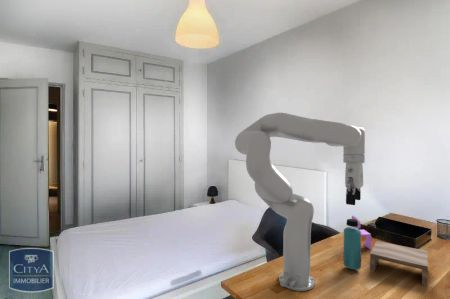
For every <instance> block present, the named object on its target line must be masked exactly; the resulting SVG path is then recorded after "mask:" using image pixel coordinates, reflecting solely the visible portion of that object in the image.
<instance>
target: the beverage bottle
mask: <svg viewBox="0 0 450 299" xmlns="http://www.w3.org/2000/svg"><path fill="white" fill-rule="evenodd" d="M357 226H358V221H357V220H355V219H352V218H347V220H346V227H345V228H344V229H343V255H342V258H343V266H344V267H346V268H348V269H351V270H359V269H361V268H362V242H361V240H362V236H361V231H360V230H361V229H360V228H359V229H358V228H355V227H357Z"/></svg>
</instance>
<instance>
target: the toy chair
mask: <svg viewBox="0 0 450 299" xmlns="http://www.w3.org/2000/svg"><path fill="white" fill-rule="evenodd" d="M351 219H355V220H357V221H358V226H357V227H355V228H358V229H359V230H360V231H361V237H365V241H364V244H363V245H364V246H365V247H366V248H367V249H369V250H371V251H372V240H373V238H372V234H371V233H370V232H368V231H367V230H365V229H361V228H362V226H361V221H360V220H359V219H358V217H356V216H355V215H352V216H351Z"/></svg>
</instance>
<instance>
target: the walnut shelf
mask: <svg viewBox="0 0 450 299" xmlns="http://www.w3.org/2000/svg"><path fill="white" fill-rule="evenodd" d="M428 253H429V251H428V250H424V249H419V248H414V247H408V246H403V245H398V244H395V243H394V244H393V243H390V242H389V243H388V242H384V241H379V240H376V241H375V243H374V245H373V247H372V248H371V251H370V253H369V254H370V255H369V256H370V257H369V271H370V272H374V273H375V271H376V269H377V266H378V264H379V261H380V260H381V261H385V262H389V263H392V264H398V265H402V266H406V267H411V268H413V269H414V268H415V269H419V270H421V272H422V273H421V284H422V286H425V287H428V277H429V276H428V273H429V272H428V271H429V270H428V269H429V267H428V266H429V264H428V262H429V259H428V258H429V254H428Z"/></svg>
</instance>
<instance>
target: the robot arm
mask: <svg viewBox="0 0 450 299" xmlns="http://www.w3.org/2000/svg"><path fill="white" fill-rule="evenodd" d="M365 136H366V130H365V129H364V127H363V126H362V127H360V126H358V127H357V126H355V125H351V124H346V123H342V122H336V121H328V120H322V119H314V118H309V117H305V116H304V117H303V116H299V115H295V114H292V113H291V114H290V113H286V112H274V113H269V114H266V115H263V116H262V117H260V118H259V119H257V120H256V121H254V122H253V123H252V124H250V125H249V126H247V127H246V128H245V129H243V130H242V131H240V132H239V133H238V134H237V136H236V137H235V140H234V145H235V149H236V150H237V152H239V153H240V154H242V155H244V156H245V155H246V156H245V157H246V158H245V165H246V166H245V167H246V171H247V174H248V175H249V177H250V179H252V181H253V182H254V190H255V192H256V194H257V196H258V197H260V199H261V200H263V202H264V203H265V204H266V205H267V206H268V207H269V208H270V209H271V210H272V211H273V212H275V213H276V214H277V215H278V216H281V217H282V218H285V219H286V223H285V225H284V228H283V234H282V235H283V244H282V245H283V246H282V247H283V249H282V250H283V252H282V257H283V260H282V266H283V267H282V272H281V273H280V274H279V275H278V280H279V285H280V286H281V287H285V288H286V289H289V290H292V291H295V292H296V291H298V292H304V291H310V290H311V289H313V288H314V287H315V279H314V277H313V276H312V275H311V249H312V248H311V240H312V238H311V236H312V235H311V233H312V224H313V219H314V214H315V209H314V205H313V204H312V202H311V200H309V199H308V198H306V197H304V196H302V195H299V194H296V193H293V192H294V191H293V187H292V185H291V183H290V182H289V181H288V179H286V177H285V176H284V175H283V174H282V173H281V172H280V171H279V170H278V169H277V168H276V166H274V164H273V163H272V161H271V157H270V156H271V155H270V154H271V149H272V140H271V138H274V137H275V138H284V139H289V140H293V141H299V142H303V143H305V142H306V143H312V144H313V143H314V144H315V143H323V144H325V145H327V146H330V147H343V149H342V153H343V156H342V157H343V159H342V160H343V164H345V170H344V171H345V172H344V173H345V176H344V181H345V182H344V184H345V185H344V186H345V188H346V192H345V204H346V205H351V206H355V205H356V201H361V199H362V198H361V195H362V194H361V193H362V192H361V190H362V189H361V188H363V186H364V169H363V168H364V166H363V164H365V162H366V160H365V156H366V151H365V150H366V149H365V145H366V144H365V143H366V142H365V139H366V138H365Z"/></svg>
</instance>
